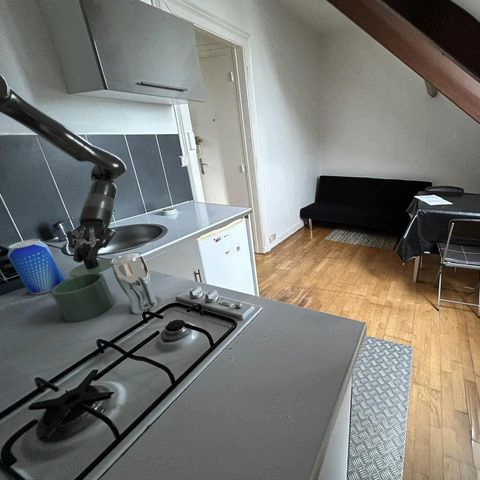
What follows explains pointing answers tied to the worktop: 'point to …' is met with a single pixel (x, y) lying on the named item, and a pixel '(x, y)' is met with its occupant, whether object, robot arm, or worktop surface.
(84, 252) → the tin lid
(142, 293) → the beer glass
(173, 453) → the worktop surface
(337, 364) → the worktop surface
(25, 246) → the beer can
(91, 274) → the tin
